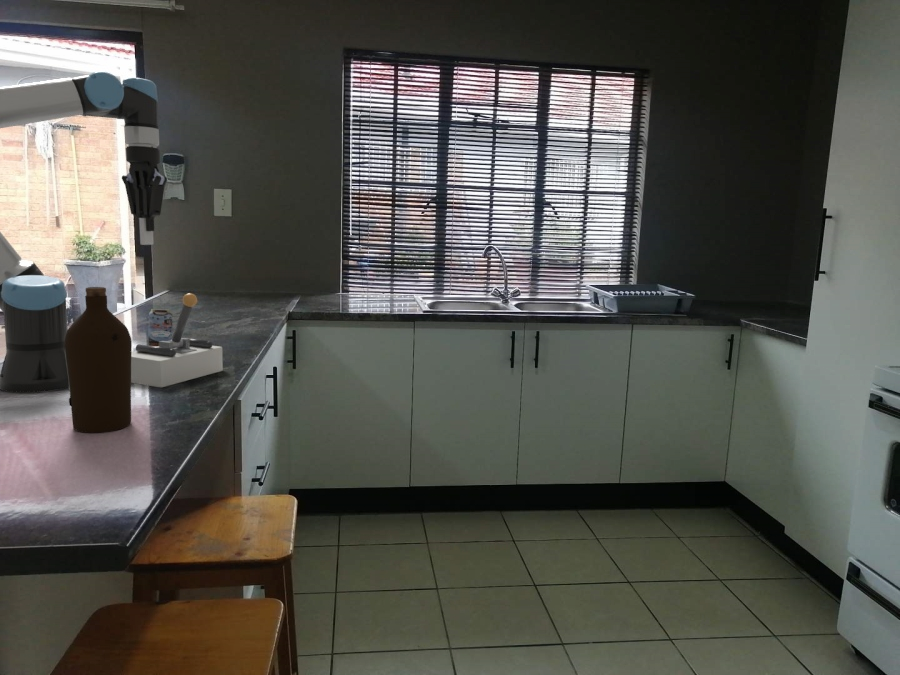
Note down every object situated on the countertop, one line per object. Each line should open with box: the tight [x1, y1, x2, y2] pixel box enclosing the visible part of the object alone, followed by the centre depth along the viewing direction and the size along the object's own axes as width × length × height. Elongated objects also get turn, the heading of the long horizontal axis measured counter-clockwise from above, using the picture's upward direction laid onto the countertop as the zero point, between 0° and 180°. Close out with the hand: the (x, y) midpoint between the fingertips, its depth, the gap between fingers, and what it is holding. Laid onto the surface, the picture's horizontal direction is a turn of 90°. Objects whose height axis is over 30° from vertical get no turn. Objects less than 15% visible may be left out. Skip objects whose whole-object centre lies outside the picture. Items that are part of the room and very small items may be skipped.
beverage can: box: [147, 308, 173, 347], centre depth 188 cm, size 6×7×12 cm
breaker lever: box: [168, 292, 198, 348], centre depth 160 cm, size 4×3×15 cm
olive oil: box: [64, 286, 133, 434], centre depth 121 cm, size 11×11×25 cm
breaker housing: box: [131, 337, 224, 388], centre depth 161 cm, size 20×13×8 cm, turn 158°
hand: (147, 244), depth 169 cm, fingers closed
